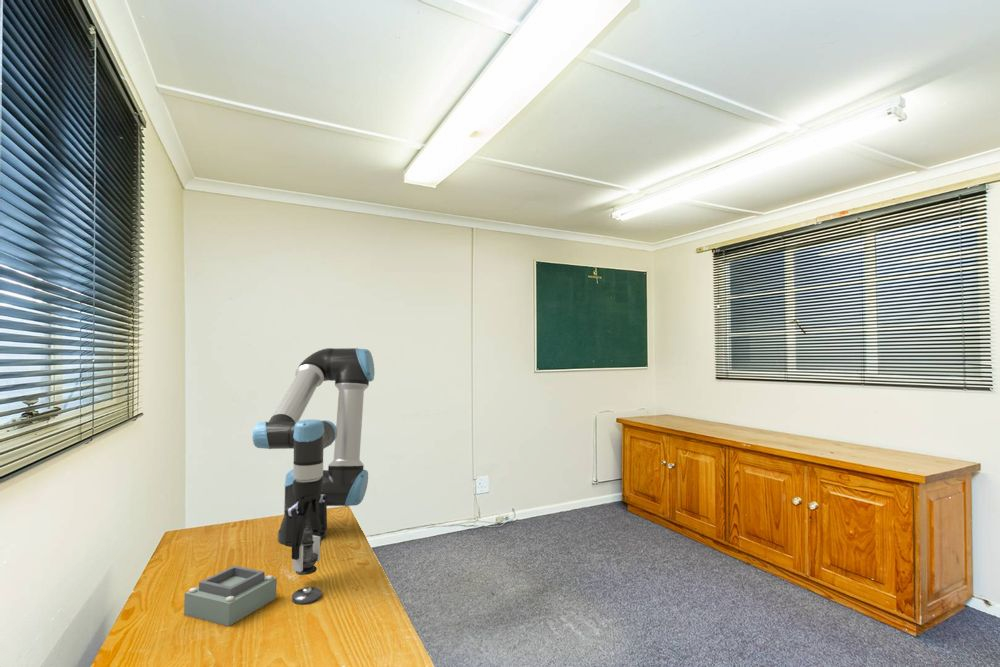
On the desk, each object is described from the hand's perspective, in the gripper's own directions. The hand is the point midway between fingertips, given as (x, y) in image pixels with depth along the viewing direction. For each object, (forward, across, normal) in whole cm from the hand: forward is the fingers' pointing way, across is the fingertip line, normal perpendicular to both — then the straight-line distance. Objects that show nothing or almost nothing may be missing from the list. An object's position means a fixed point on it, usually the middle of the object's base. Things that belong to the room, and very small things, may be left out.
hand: (306, 565), depth 132 cm
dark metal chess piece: (+2, 0, 0) cm, 2 cm away
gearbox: (+5, +16, -10) cm, 19 cm away
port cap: (+5, +6, +5) cm, 9 cm away
